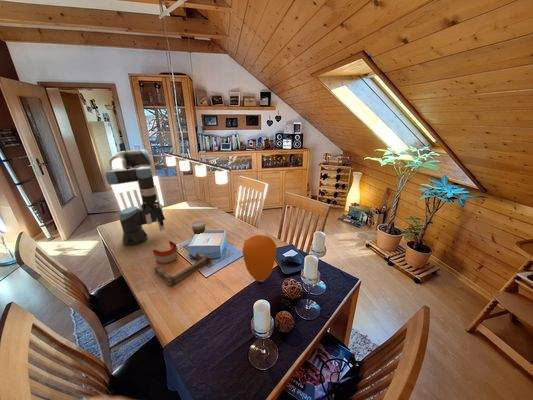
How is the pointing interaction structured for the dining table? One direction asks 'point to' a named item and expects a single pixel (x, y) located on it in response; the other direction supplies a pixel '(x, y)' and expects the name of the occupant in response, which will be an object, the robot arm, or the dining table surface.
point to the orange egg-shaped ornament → (259, 256)
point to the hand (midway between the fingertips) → (155, 226)
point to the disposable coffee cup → (198, 227)
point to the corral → (185, 273)
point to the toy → (166, 254)
